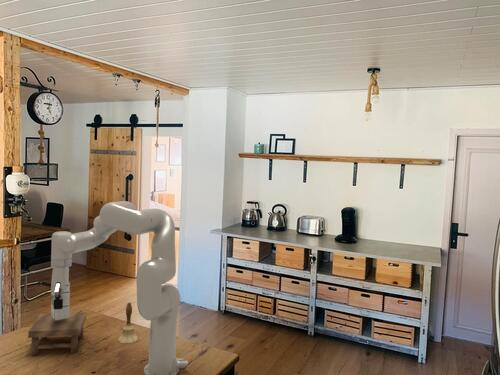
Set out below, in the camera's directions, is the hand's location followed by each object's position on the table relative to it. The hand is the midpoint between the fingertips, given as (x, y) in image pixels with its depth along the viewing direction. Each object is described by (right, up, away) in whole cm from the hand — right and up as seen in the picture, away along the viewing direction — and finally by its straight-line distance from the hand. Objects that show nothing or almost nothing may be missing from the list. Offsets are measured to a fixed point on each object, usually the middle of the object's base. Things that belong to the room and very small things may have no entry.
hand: (60, 305), depth 160 cm
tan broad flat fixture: (-1, -17, +1) cm, 17 cm away
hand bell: (+24, -18, +10) cm, 32 cm away
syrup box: (0, -5, 0) cm, 5 cm away
